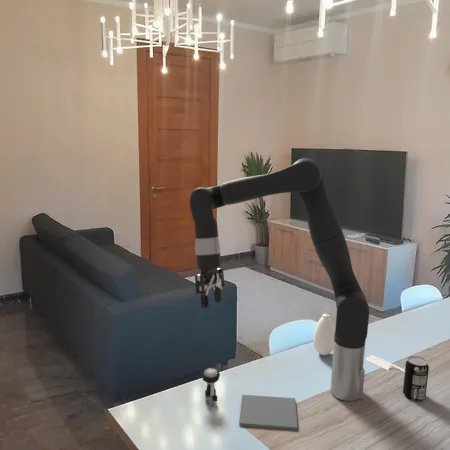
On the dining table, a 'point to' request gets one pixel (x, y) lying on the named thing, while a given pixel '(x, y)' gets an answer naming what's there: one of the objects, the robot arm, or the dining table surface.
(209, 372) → the push button
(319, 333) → the sauce bottle
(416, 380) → the beverage can
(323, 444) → the dining table surface
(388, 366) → the white plastic strip tool
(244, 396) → the rubber mat
